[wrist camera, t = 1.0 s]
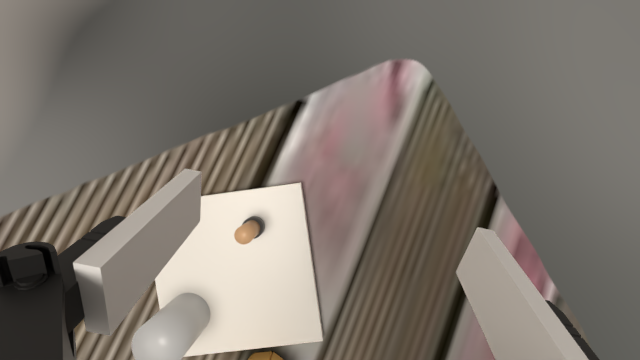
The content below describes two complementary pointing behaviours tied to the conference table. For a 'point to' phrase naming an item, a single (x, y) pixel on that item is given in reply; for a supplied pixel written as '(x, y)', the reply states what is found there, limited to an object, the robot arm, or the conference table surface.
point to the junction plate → (237, 279)
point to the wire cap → (265, 356)
